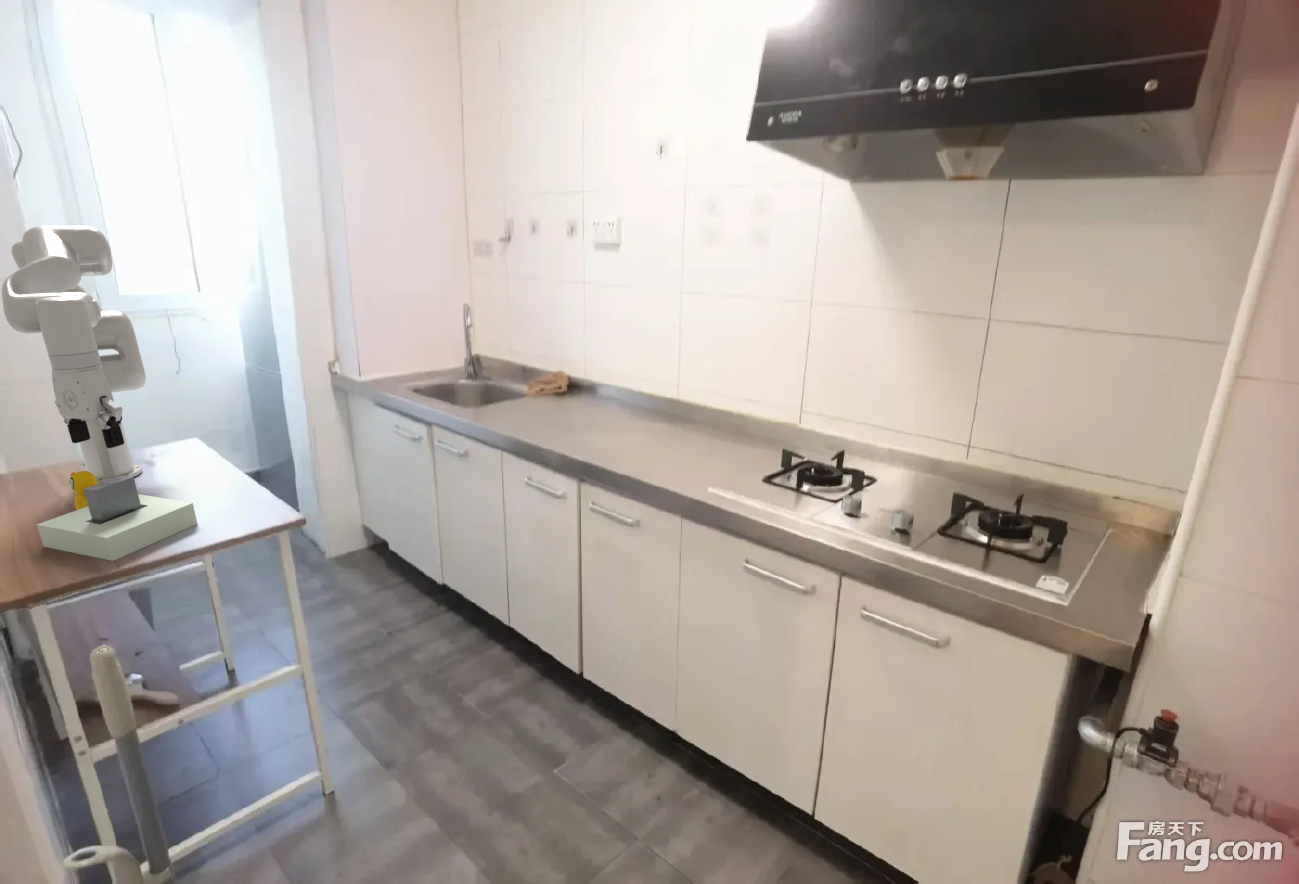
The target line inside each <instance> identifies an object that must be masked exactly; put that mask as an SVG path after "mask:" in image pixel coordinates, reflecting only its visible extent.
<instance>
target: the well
mask: <svg viewBox="0 0 1299 884" xmlns="http://www.w3.org/2000/svg"><path fill="white" fill-rule="evenodd" d="M138 496H139V500H140V504H141V507H142V508H141V509H139V510H136V511H134V512H131V513H128V514H126V515H123V516H121V517H118V518H116V519H113V520H110V521H108V522H105V523H103V524H95V523H93V521H92V518H91V514H90V511H89V507H88V506H87V507H84V508H82V509H79V510H76V509H75V510H73V511H72V512H71V511H70V512H67V513H65V514H63V515H59V516H57V517H55V518H51V519H49V520H46V521H42V522H40V523H37V524H36V526H37V530H38V533H39V536H40V540H41V542H42V546H43V548H49V549H53V550H58V551H62V552H68V553H73V554H78V555H82V556H85V557H86V556H87V557H92V558H96V559H97V558H98V559H101V560H107V561H112V562H115V561H116V560H119V559H121V558H123V557H125V556H128V555H130V554H132V553H135V552H137V551H139V550H142V549H143V548H146V547H148V546H150V545H153V544H155V543H158V542H159V541H162V540H164V539H167V538H168V537H171V536H173V535H175V534H178V533H179V532H180V533H181V532H182V531H184V530H187V529H188V528H191V527H193V526H195V525H198V521H197V516H196V511H195V506H194V503H193V502H189V501H182V500H178V499H169V498H163V497H159V496H153V495H152V496H151V495H145V494H139V493H138Z"/></svg>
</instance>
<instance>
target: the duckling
mask: <svg viewBox="0 0 1299 884" xmlns="http://www.w3.org/2000/svg"><path fill="white" fill-rule="evenodd" d="M97 484H98V482H97V479H96V477H95V476H94V475H93V474H92V473H91V472H89V471H86V470H80V471H77V472H75V471H74V472H71V473H70V477H69V485H70V487H71V489H72V490H73V492H74V493H75V495H74V497H73V498H74V499H73V500H74V508H75V511H76V510H79V509H82V508H84V507H87V506H88V504H87V500H86V497H85V493H84V490H83V489H85V488H88V487H91V486H94V485H97Z"/></svg>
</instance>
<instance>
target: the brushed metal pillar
mask: <svg viewBox="0 0 1299 884" xmlns="http://www.w3.org/2000/svg"><path fill="white" fill-rule="evenodd" d="M83 490H84V493H85V497H86V500H87V504H88V507H89V511H90V514H91V518H92V521H93V523H95V524H103V523H105V522H108V521H110V520H113V519H116V518H118V517H121V516H123V515H126V514H128V513H131V512H134V511H136V510H139V509H141V508H142V507H141V504H140V500H139V496H138V494H139V493H138V488H137V484H136V482H135V478H134V477H130V476H120V477H117V478H114V479H112V480H109V481H106V482H103V483H100V484H97V485H94V486H91V487H88V488H85V489H83Z"/></svg>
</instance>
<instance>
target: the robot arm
mask: <svg viewBox="0 0 1299 884" xmlns="http://www.w3.org/2000/svg"><path fill="white" fill-rule="evenodd" d="M11 255H12V258H13V260H14V262H15V263H16V265H17V267H18V269H16V270H15V271H14V272H13V273H11V274H10V275H9V276H8V277H7V278H5V280H4V281H3V283H2V286H1V299H2V309H3V313H4V316H5V318H6V321H7V323H8V325H9V326H10V327H11V328H12V329H13V330H15V331H16V332H19V333H23V334H40V333H41V335H42V338H43V341H44V345H45V348H46V351H47V356H48V358H49V362H50V366H51V379H52V387H53V391H54V392H53V393H54V397H55V401H54V403H55V406H56V407H57V410H58V413H59V414H60V415H61V417H63V418H64V419H63V423H64V424H66V426H67V429H68V433H69V436H70V441H71V442H72V443H73V444H79V446H80V451H81V454H82V457H83V461H82V462H81V463H80V467H82V468H85V469H86V470H85V471H89V472H91V473H92V474H93V475H94V476H95V477H96V479H97V482H98V484H100V483H103V482H106V481H109V480H112V479H114V478H117V477H120V476H130V477H137V476H138V475H140V474H141V473H142V472H143V467H142V466H141V465H139V464H134V462H133V458H132V455H131V450H130V447H129V443H128V439H127V435H126V431H125V427H124V423H123V408H122V407H121V406H120V405H119V404H117V403H116V402H115V399H114V395H113V393H118V392H127V391H135V390H139V389H142V388H144V386H145V385H146V383H147V379H146V372H145V367H144V364H143V360H142V356H141V352H140V348H139V345H138V339H137V336H136V332H135V329H134V326H133V324H132V321H131V319H130V318H129V316H127V314H125V313H124V312H122V311H119V310H101V307H100V305H99V302H98V301H97V299H95V298H94V297H92V295H90V294H88V293H87V292H86V290H85V289H84V288H83V287H82V286H81V285H79V284H80V282H81V280H82V277H86V276H87V277H90V276H92V277H93V276H105V275H108V274H110V273H111V271H112V268H113V259H112V250H111V246H110V243H109V241H108V240H107V238H106V236H105V234H104V233H102V232H101V230H99V229H98V228H96V227H93V226H90V225H39V226H38V225H37V226H34V227H32V228H29V229H28V230H26V231H25V232H24V234H23V236H22V240H21V241H18V242H17V241H16V243H14V244H13V245H12V247H11ZM105 350H106V351H107V350H114V351H116V352H117V353H116V354H103V355H100V353H99V351H105Z"/></svg>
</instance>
